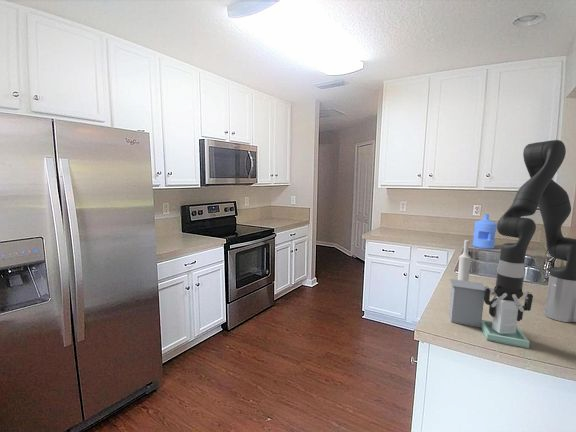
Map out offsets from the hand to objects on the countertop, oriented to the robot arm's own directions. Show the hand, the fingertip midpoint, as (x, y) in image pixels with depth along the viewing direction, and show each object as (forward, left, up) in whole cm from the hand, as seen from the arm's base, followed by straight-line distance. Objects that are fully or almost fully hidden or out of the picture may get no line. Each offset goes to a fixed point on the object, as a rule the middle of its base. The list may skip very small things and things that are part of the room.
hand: (504, 318), depth 108 cm
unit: (+11, -8, -7) cm, 15 cm away
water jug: (-26, -171, -7) cm, 173 cm away
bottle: (+6, -50, -7) cm, 51 cm away
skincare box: (0, 0, -5) cm, 5 cm away
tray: (0, 0, -7) cm, 7 cm away
